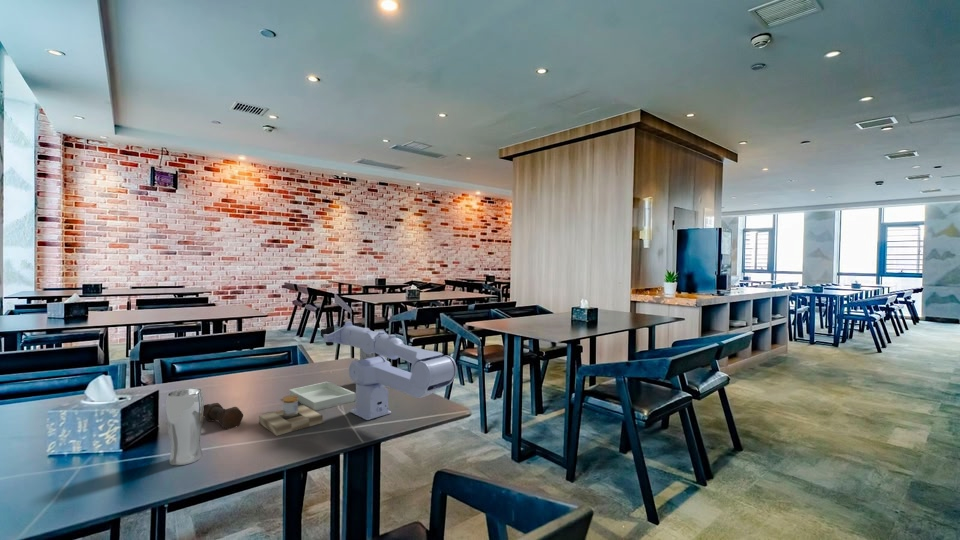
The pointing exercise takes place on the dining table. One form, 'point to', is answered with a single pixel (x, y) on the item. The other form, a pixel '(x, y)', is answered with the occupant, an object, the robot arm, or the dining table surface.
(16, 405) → the dining table surface
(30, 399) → the dining table surface
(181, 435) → the beer glass
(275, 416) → the wooden square frame
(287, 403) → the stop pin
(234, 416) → the dark brown dumbbell
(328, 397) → the parts tray
